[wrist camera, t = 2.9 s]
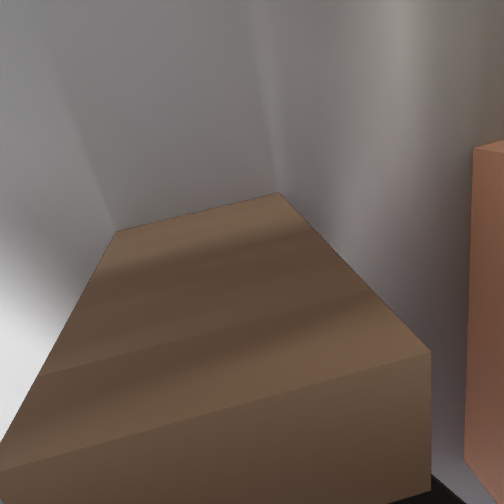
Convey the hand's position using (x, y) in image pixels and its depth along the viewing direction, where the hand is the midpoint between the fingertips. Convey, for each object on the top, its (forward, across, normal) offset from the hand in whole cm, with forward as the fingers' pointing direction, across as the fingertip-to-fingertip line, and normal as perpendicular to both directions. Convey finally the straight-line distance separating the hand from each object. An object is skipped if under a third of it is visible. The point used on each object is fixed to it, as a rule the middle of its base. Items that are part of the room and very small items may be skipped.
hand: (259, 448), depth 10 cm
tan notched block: (+2, 0, 0) cm, 2 cm away
